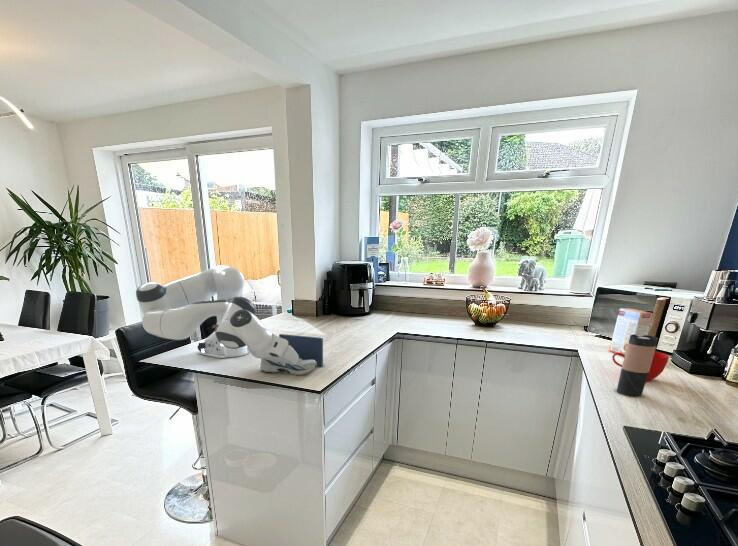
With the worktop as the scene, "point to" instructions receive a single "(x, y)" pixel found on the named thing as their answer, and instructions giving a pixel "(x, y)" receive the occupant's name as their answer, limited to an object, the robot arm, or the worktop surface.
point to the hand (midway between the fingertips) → (282, 363)
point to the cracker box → (629, 328)
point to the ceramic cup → (652, 364)
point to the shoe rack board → (306, 347)
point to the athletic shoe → (289, 367)
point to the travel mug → (636, 365)
